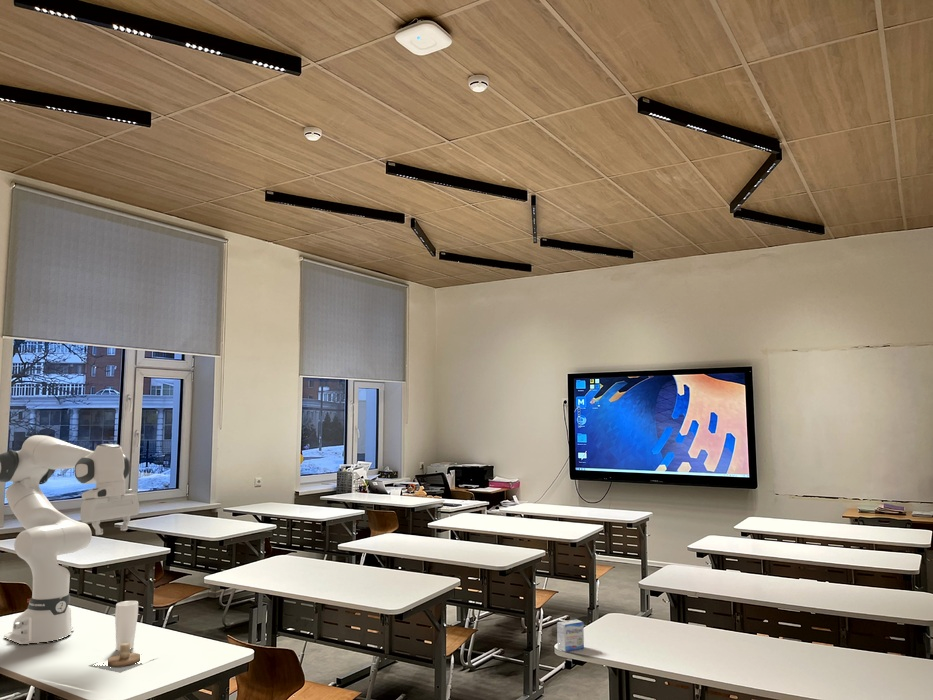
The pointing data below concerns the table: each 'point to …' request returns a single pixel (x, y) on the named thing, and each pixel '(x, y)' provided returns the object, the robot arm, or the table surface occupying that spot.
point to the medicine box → (570, 635)
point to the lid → (124, 657)
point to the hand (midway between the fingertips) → (111, 532)
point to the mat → (117, 669)
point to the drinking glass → (126, 622)
